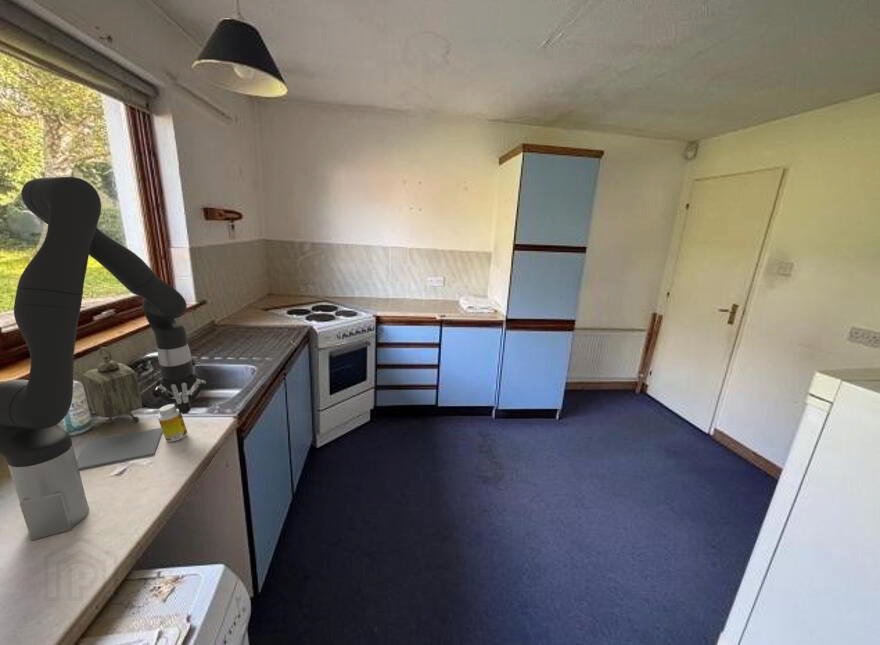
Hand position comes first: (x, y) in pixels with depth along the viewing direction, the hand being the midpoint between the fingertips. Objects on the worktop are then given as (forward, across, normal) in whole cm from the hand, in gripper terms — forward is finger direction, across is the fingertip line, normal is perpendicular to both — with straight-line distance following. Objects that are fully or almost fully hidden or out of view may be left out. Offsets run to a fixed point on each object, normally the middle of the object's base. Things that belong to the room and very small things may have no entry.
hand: (185, 412), depth 110 cm
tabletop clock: (+8, -21, +17) cm, 29 cm away
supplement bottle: (+8, -3, 0) cm, 8 cm away
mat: (+8, -16, -1) cm, 18 cm away
